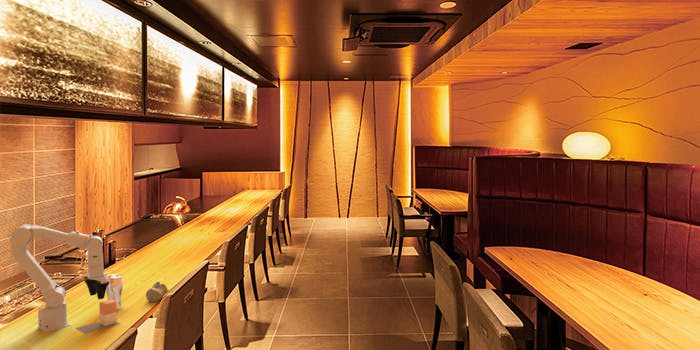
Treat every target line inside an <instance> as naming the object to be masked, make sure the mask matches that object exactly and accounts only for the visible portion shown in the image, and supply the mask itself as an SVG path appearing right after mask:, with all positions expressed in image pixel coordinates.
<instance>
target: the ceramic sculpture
mask: <svg viewBox="0 0 700 350" xmlns="http://www.w3.org/2000/svg"><path fill="white" fill-rule="evenodd" d="M169 290H170V289H168V288H167V286H166V284H165V283H161V282H160V281H158V282H155V283H154V284H153V285H152V286H151V288H149V289H147V291H146V293H145V298H146V300H147V301H148V302H151V303H157V302H159V301H160V299H163V298H164V297H163V296H164V295H165V294H166V293H167V292H168V291H169ZM162 297H163V298H162Z"/></svg>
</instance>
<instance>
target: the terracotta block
mask: <svg viewBox="0 0 700 350" xmlns="http://www.w3.org/2000/svg"><path fill="white" fill-rule="evenodd" d="M98 302H99V301H98ZM115 312H117V309H116V301H114V300H108V299H107V300H104V301H100V302H99V315H100V314H102V315H108V314H111V313H115Z"/></svg>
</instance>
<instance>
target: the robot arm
mask: <svg viewBox="0 0 700 350" xmlns="http://www.w3.org/2000/svg"><path fill="white" fill-rule="evenodd" d="M41 238H45V239H51V240H52V239H53V240H57V241H62V242H63V241H64V243H66V244H67V246H70V247H75V248H80V249H82V250H83V249H87V271H88V272H86V279H84V280H83V282H84V283H85V284H86V287H87V289H88V293H89V295H90V296H91V297H92V296H96V297H97V299H98V300H102V299H105V296H106V288H107V286H108V284H109V282H108V281H106V276H108V274H107V272H105V271H104V266H105V265H104V252H103V251H104V250H103V245H104V244H103V243H104V241H103V239H102V237H100V236H98V235H97V234H96V235H93V234H85V233H81V232H80V231H79V230H76V231H71V232H69V233H67V232H65V231H59V230H56V229H52V228H49V227H45V226H41V225H36V224H29V223H23V224H20V225H19V226H18V227H17V228H15V229H14V230H13V232H12V234H11V235H10V238H9V240H10V254H11V256H12V258H13V259H14V260H15V261H16V262H17V263H18V264H19V266H20V267H21V268H22V269H23V270H24V272H26V274H27V275H28V276H29V278H30V279H31V280H32V281H33V282H34V284H35V285H36V286H37V287H38V289H39V290H40V293H41V295H42V297H43V298H44V302H45V306H44V307H42V308H39V309H38V313H37V319H38V320H37V321H38V322H37V323H38V326H37V328H38V329H39V330H41V331H43V332H44V333H47V332H51V331H55V330H58V329H59V330H60V329H62V328H66V327H70V326H71V324H70V323H69V322H68V320H67V319H68V316H67V301H66V300H65V296H66V294H67V291H66V289H65V288H64V286H62V285H59V284H58V283H57V282H56V281H55V280H52V278H51V277H50V276H49V275H48V273H47V272H46V270H44V268H42V266H41V264H39V262H38V261H37V260H36V259H35V258H34V256H33V255H32V254H31V252H29V250H28V248H29V245H30V241H32V240H34V241H35V240H38V239H41Z"/></svg>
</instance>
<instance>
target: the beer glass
mask: <svg viewBox="0 0 700 350" xmlns="http://www.w3.org/2000/svg"><path fill="white" fill-rule="evenodd" d="M105 278H106V281H108V282H109V284H108V286H107V288H106V292H105V294H106V296H107V297H106V298H107V301H108V300H114V301H116V310H119V309H122V308H123V305H122V295H123V289H124V280H123V274H121V273H113V274H107V275H106V276H105Z"/></svg>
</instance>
